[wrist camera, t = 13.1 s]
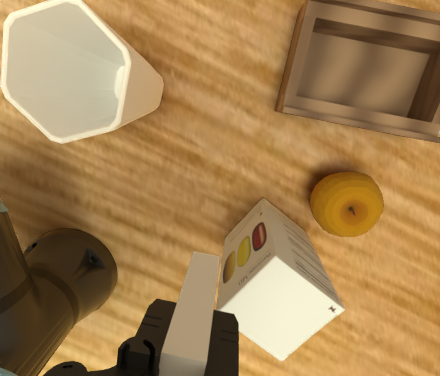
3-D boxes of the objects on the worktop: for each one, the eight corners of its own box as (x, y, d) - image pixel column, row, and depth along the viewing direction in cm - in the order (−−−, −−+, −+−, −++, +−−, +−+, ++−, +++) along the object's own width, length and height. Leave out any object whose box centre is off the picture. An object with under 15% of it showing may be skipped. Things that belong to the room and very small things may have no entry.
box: (274, 111, 38) (282, 112, 31) (298, 12, 34) (313, -12, 28) (405, 136, 38) (442, 143, 31) (441, 40, 34) (492, 23, 27)
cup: (85, 84, 39) (-29, 67, 22) (132, 26, 36) (43, -40, 20) (144, 143, 40) (79, 168, 24) (192, 92, 38) (157, 81, 22)
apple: (348, 152, 39) (379, 165, 30) (372, 202, 41) (407, 227, 32) (293, 181, 41) (307, 201, 32) (318, 228, 42) (338, 258, 34)
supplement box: (262, 195, 41) (278, 251, 25) (308, 232, 43) (350, 308, 26) (222, 239, 44) (212, 316, 28) (266, 273, 45) (281, 365, 29)
